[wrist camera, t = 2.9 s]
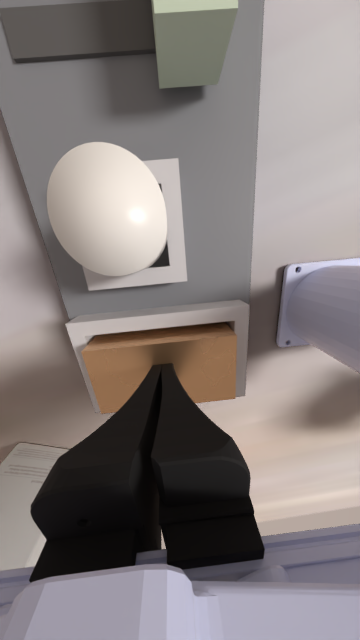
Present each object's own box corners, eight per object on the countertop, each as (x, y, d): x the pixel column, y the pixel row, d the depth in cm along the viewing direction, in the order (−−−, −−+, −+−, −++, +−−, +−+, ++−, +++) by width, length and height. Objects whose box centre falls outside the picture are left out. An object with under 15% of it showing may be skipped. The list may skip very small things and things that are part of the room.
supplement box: (18, 440, 20) (-203, 700, 8) (82, 449, 21) (-30, 691, 9) (16, 478, 22) (-158, 727, 10) (75, 485, 23) (-23, 718, 12)
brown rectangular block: (222, 319, 13) (236, 335, 11) (223, 372, 15) (235, 398, 12) (100, 332, 13) (81, 351, 10) (114, 384, 15) (101, 413, 12)
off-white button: (162, 177, 9) (158, 136, 6) (171, 268, 10) (172, 270, 7) (75, 185, 9) (27, 147, 6) (97, 275, 10) (68, 280, 7)
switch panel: (245, -28, 10) (301, -241, 5) (235, 365, 18) (254, 396, 14) (-9, -13, 9) (-148, -225, 5) (104, 379, 18) (85, 414, 14)
